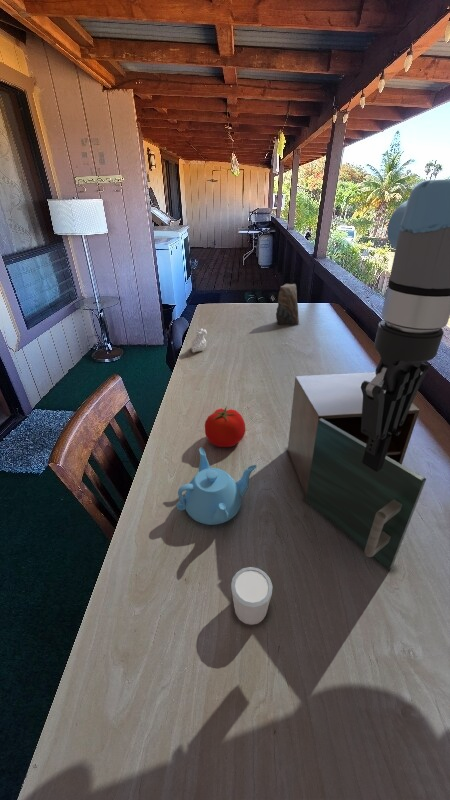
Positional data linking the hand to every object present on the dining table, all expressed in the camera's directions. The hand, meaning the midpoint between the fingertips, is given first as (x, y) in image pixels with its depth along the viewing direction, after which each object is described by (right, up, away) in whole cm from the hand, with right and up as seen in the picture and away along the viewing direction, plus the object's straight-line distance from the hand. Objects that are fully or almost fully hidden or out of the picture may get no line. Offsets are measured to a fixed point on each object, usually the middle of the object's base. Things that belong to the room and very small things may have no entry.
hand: (371, 465), depth 56 cm
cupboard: (+6, -8, +36) cm, 37 cm away
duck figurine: (-35, +40, +101) cm, 114 cm away
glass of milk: (-19, -26, +5) cm, 33 cm away
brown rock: (+11, +53, +138) cm, 148 cm away
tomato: (-24, -2, +46) cm, 52 cm away
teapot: (-25, -14, +25) cm, 39 cm away
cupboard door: (0, -19, +17) cm, 25 cm away
